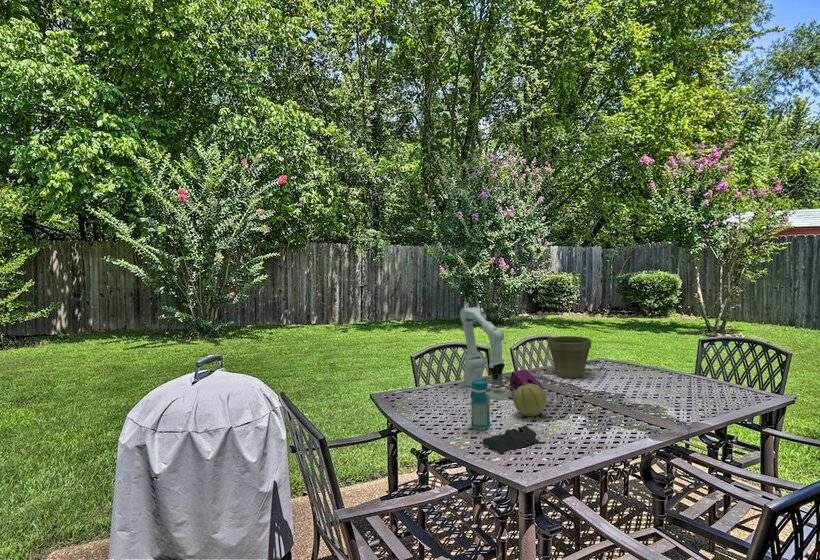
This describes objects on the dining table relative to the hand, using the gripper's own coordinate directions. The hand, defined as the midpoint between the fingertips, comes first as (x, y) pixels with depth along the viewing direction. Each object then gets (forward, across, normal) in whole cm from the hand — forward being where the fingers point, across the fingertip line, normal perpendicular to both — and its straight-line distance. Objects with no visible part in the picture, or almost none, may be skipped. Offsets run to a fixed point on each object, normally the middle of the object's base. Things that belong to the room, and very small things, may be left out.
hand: (497, 378), depth 259 cm
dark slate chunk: (+10, -56, -31) cm, 65 cm away
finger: (+3, 0, 0) cm, 3 cm away
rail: (+9, -3, +3) cm, 9 cm away
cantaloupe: (+9, -22, -26) cm, 36 cm away
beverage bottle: (+9, -46, -13) cm, 49 cm away
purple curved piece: (+9, +15, -11) cm, 21 cm away
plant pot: (+9, +56, -21) cm, 60 cm away
